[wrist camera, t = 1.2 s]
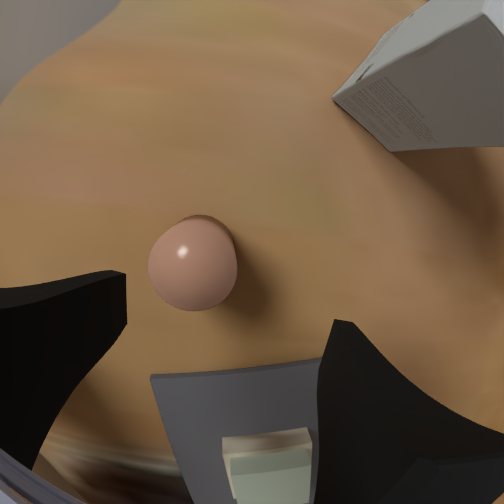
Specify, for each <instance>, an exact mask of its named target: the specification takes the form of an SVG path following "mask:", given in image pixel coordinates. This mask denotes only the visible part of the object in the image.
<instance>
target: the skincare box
mask: <svg viewBox="0 0 504 504" xmlns="http://www.w3.org/2000/svg"><path fill="white" fill-rule="evenodd" d="M332 99H333V100H334V101H335V102H336V103H337V104H338V105H339V106H341V107H342V108H343V109H344V110H345V111H346V112H348V113H349V114H350V115H351V116H352V117H353V118H354V119H356V120H357V121H358V122H359V123H360V124H361V125H362V126H363V127H364V128H365V129H366V130H368V131H369V132H370V133H371V134H372V135H373V136H374V137H375V138H376V139H377V140H378V141H379V142H380V143H381V144H382V145H383V146H384V147H385V148H386V149H387V150H388V151H390V152H397V151H410V150H423V149H441V148H466V147H504V0H430V1H429V2H427V3H426V4H425V5H423V6H422V7H420V8H419V9H418V10H416V11H415V12H414V13H412V14H411V15H409V16H408V17H407V18H405V19H404V20H402V21H401V22H400V23H398V24H397V25H395V26H394V27H393V28H392V29H390V30H389V31H387V32H386V33H385V34H384V35H383V36H382V37H381V39H380V41H379V42H378V44H377V45H376V46H375V48H374V49H373V50H372V52H371V53H370V54H369V55H368V57H367V58H366V59H365V60H364V62H363V63H362V64H361V65H360V66H359V68H358V69H357V70H356V71H355V72H354V73H353V74H352V76H351V77H350V78H349V79H348V80H347V81H346V82H345V84H344V85H343V86H342V87H341V88H340V89H339V90H338V91H337V92H336V93H335V94H334V95H333V97H332Z"/></svg>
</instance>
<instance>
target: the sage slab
mask: <svg viewBox="0 0 504 504" xmlns="http://www.w3.org/2000/svg"><path fill="white" fill-rule="evenodd" d="M230 474H231V480H232V484H233V488H234V492H235V496H236V500H237V504H305V503H309V495H310V480H311V462H310V459H309V456H308V453H307V450H306V448H302V449H296V450H290V451H283V452H277V453H269V454H261V455H253V456H243V457H231V458H230Z"/></svg>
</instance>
